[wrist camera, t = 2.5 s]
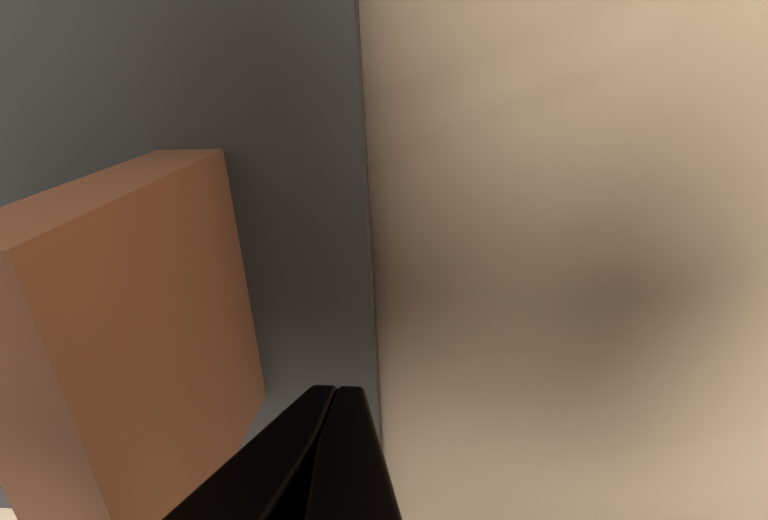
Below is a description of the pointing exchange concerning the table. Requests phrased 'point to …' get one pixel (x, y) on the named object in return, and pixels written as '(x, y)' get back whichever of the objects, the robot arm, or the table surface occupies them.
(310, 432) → the robot arm
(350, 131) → the mat
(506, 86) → the table surface
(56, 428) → the tile
